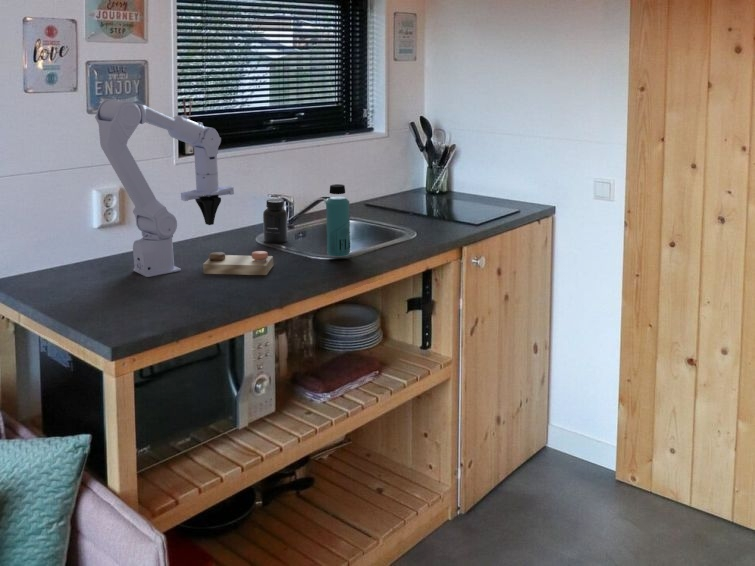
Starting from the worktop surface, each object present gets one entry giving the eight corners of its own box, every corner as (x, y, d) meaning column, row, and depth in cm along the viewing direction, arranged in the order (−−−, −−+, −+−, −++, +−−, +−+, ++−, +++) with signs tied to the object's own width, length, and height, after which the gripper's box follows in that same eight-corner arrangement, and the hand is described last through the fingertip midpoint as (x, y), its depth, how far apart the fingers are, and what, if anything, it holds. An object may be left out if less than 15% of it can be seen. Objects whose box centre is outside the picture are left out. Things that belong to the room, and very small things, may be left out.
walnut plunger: (215, 270, 216) (214, 256, 215) (207, 267, 219) (206, 253, 218) (228, 267, 219) (228, 254, 218) (220, 264, 222) (219, 251, 221)
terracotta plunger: (257, 269, 215) (257, 255, 214) (249, 266, 218) (248, 252, 217) (271, 267, 218) (270, 253, 217) (262, 263, 221) (262, 250, 220)
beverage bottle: (338, 263, 225) (338, 188, 219) (321, 258, 229) (319, 185, 223) (355, 258, 229) (355, 184, 223) (338, 254, 234) (337, 181, 228)
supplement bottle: (268, 245, 243) (267, 203, 240) (260, 239, 249) (258, 199, 245) (291, 242, 246) (290, 201, 243) (282, 237, 252) (281, 197, 248)
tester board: (203, 273, 215) (203, 264, 214) (213, 264, 224) (212, 254, 223) (266, 275, 214) (265, 265, 213) (273, 265, 222) (273, 256, 222)
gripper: (189, 178, 215) (192, 230, 219) (238, 172, 224) (241, 222, 228) (175, 174, 220) (179, 226, 224) (224, 168, 229) (227, 218, 233)
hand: (209, 224), depth 226 cm, fingers closed
